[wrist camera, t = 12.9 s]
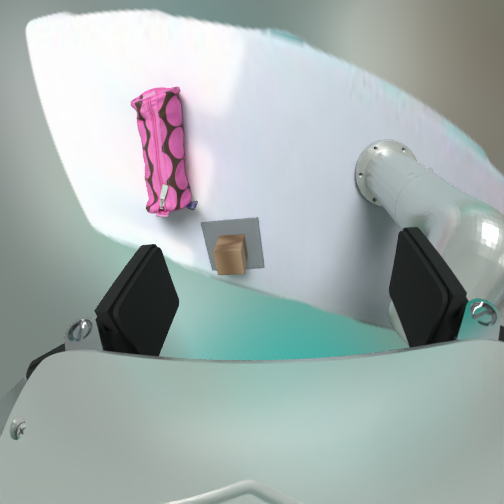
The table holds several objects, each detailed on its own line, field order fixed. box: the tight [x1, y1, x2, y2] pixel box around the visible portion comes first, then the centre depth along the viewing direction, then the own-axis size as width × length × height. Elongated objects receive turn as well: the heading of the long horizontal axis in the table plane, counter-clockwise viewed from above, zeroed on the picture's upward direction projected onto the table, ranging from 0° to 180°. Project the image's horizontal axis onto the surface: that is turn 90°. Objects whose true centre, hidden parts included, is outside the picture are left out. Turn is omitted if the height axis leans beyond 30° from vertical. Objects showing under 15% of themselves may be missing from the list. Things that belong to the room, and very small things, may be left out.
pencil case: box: [131, 87, 198, 217], centre depth 41 cm, size 21×10×10 cm, turn 4°
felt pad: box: [201, 218, 264, 270], centre depth 55 cm, size 11×11×1 cm
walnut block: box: [213, 234, 248, 275], centre depth 52 cm, size 5×5×6 cm
